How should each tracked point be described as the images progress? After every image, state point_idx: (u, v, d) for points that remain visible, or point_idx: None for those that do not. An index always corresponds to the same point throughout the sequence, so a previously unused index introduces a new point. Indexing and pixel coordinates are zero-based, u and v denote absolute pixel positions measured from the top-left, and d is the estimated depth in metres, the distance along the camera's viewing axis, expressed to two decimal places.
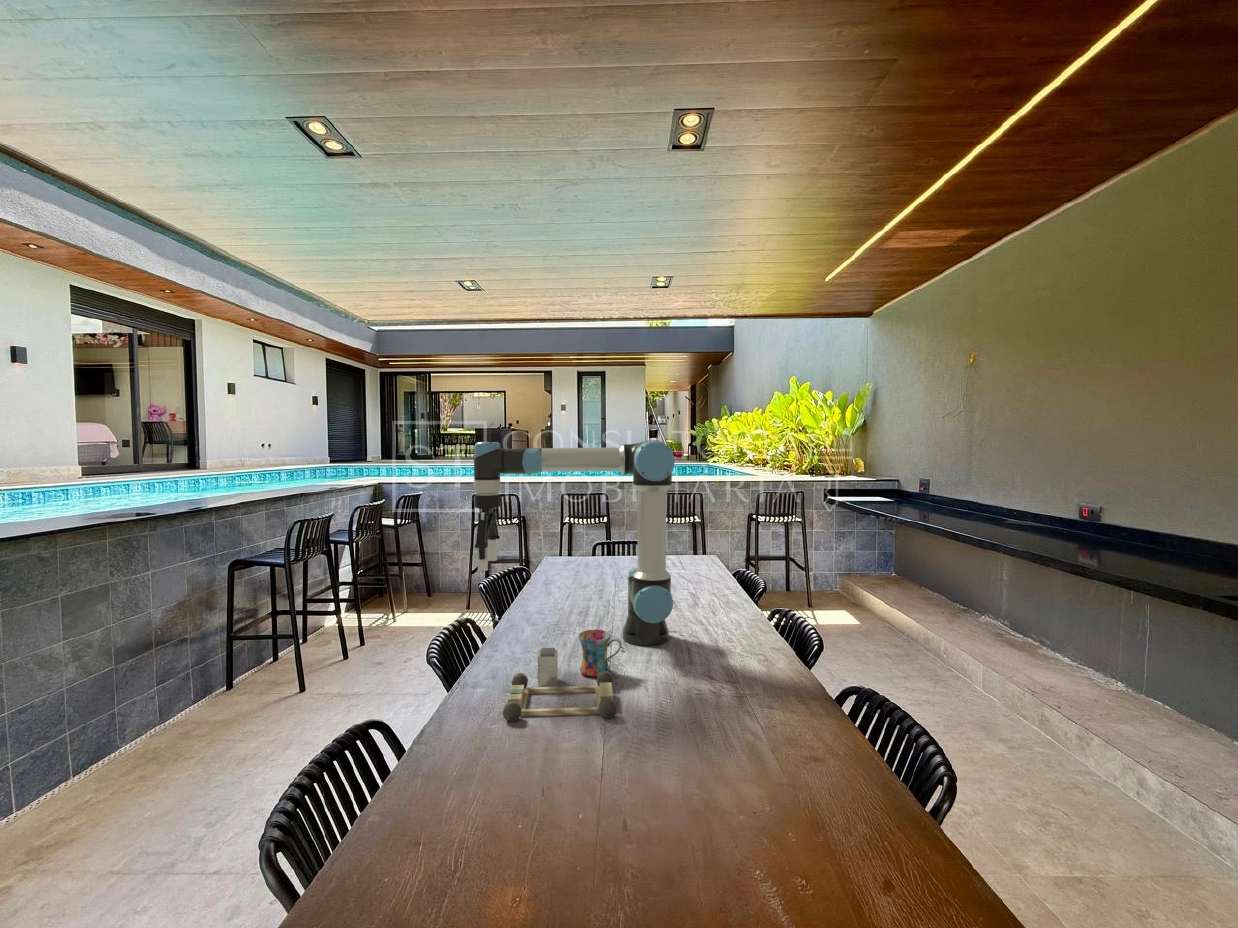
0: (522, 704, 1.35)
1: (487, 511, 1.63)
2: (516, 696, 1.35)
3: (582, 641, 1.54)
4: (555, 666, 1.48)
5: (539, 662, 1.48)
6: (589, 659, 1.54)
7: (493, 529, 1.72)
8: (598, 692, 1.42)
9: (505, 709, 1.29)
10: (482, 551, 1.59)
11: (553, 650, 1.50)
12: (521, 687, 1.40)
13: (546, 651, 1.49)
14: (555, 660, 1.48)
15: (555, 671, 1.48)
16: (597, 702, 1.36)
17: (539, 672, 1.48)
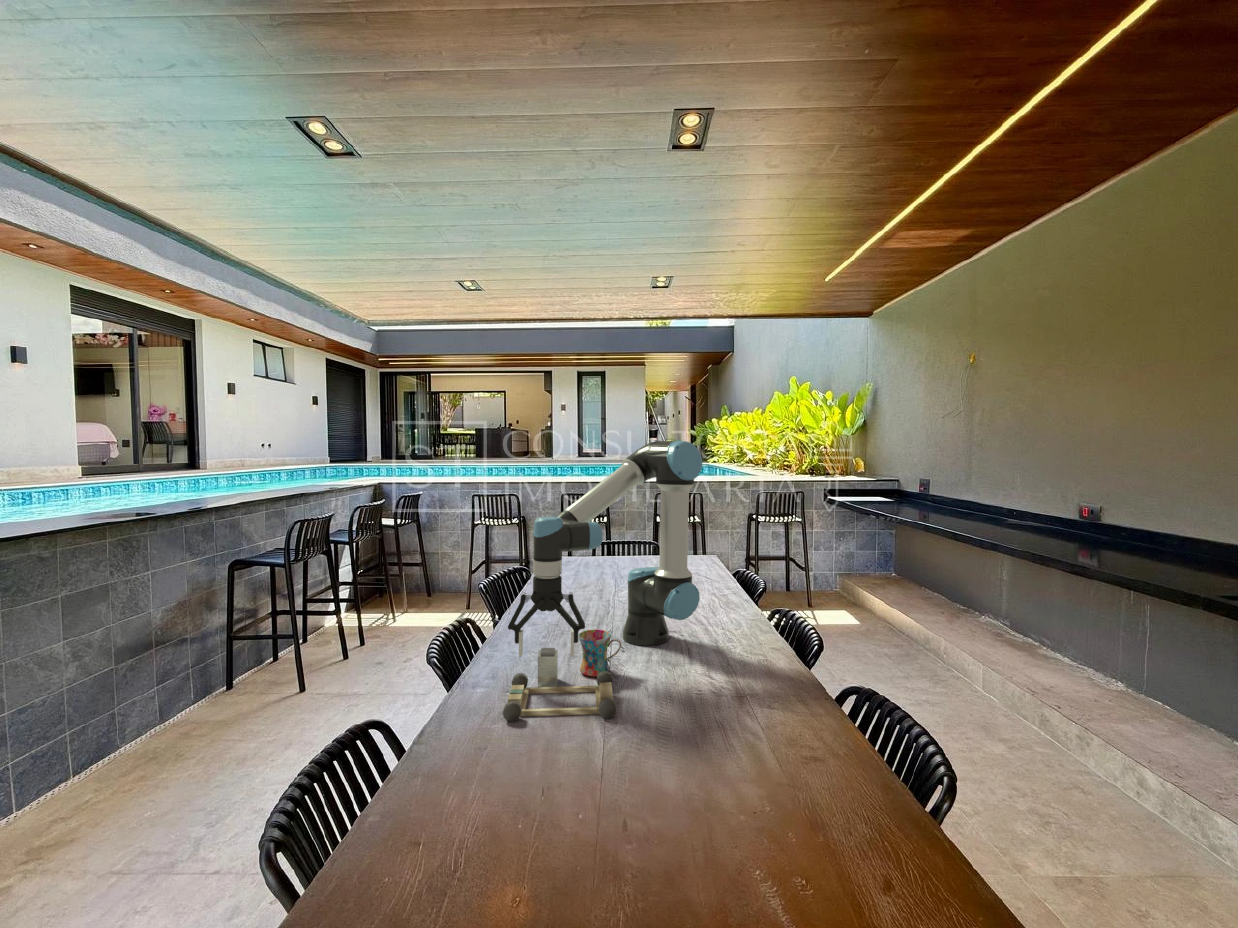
0: (522, 704, 1.35)
1: (532, 594, 1.49)
2: (516, 696, 1.35)
3: (582, 641, 1.54)
4: (555, 666, 1.48)
5: (539, 662, 1.48)
6: (589, 659, 1.54)
7: None
8: (598, 692, 1.42)
9: (505, 709, 1.29)
10: None
11: (553, 650, 1.50)
12: (521, 687, 1.40)
13: (546, 651, 1.49)
14: (555, 660, 1.48)
15: (555, 671, 1.48)
16: (597, 702, 1.36)
17: (539, 672, 1.48)
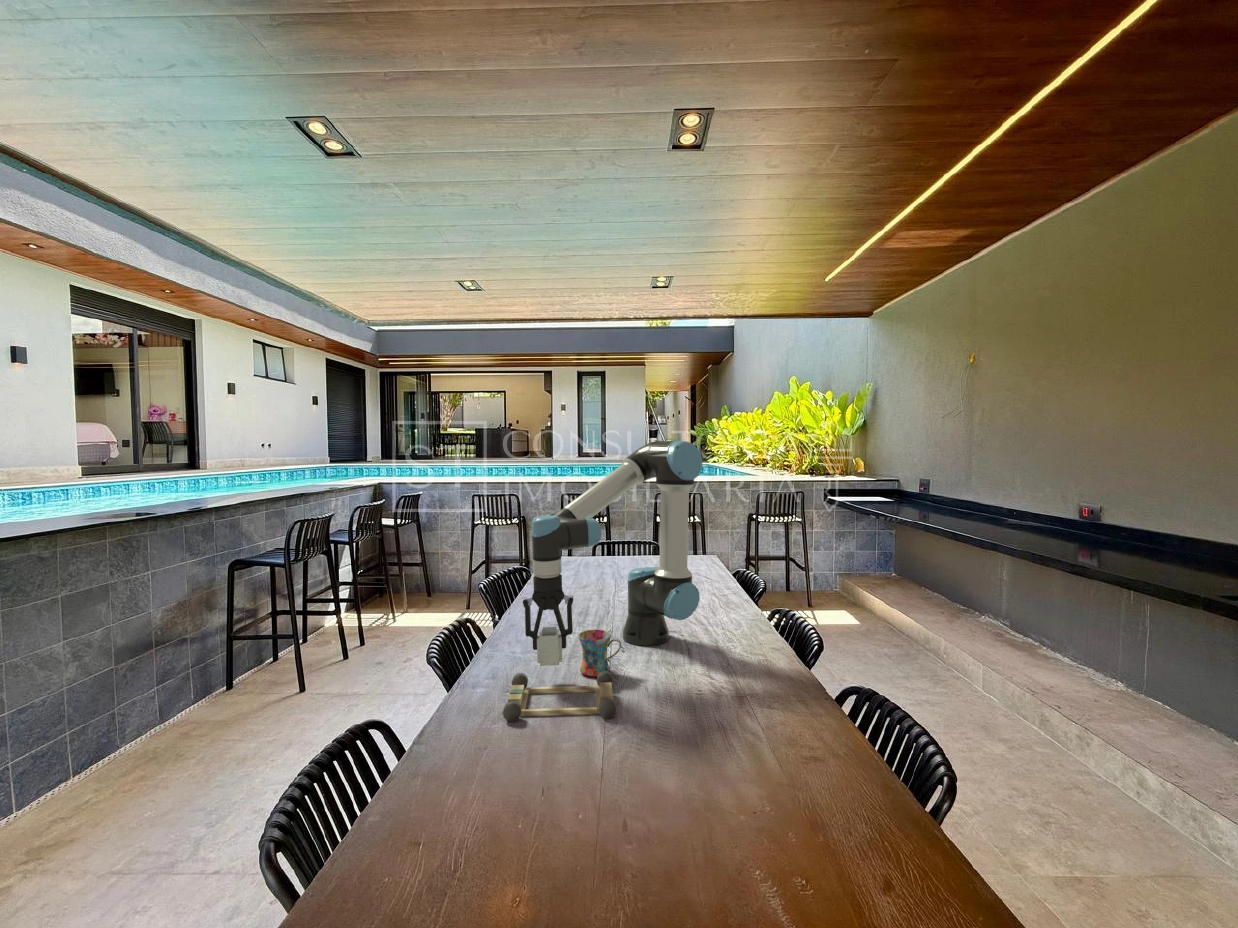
0: (522, 704, 1.35)
1: (532, 595, 1.49)
2: (516, 696, 1.35)
3: (582, 641, 1.54)
4: (557, 645, 1.48)
5: (541, 641, 1.48)
6: (589, 659, 1.54)
7: None
8: (598, 692, 1.42)
9: (505, 709, 1.29)
10: None
11: (554, 629, 1.50)
12: (521, 687, 1.40)
13: (547, 630, 1.49)
14: (557, 639, 1.48)
15: (557, 650, 1.48)
16: (597, 702, 1.36)
17: (541, 651, 1.48)
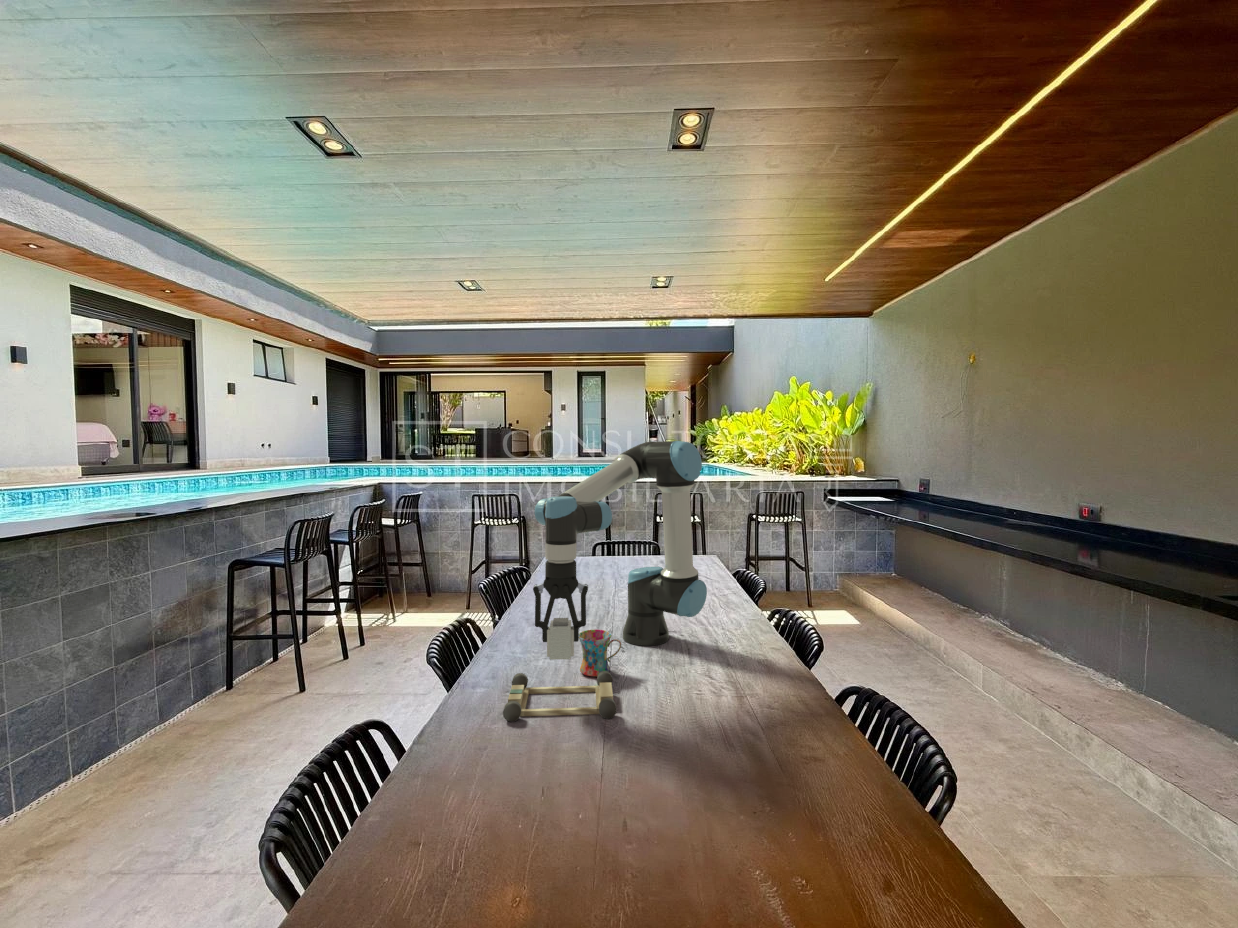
0: (522, 704, 1.35)
1: None
2: (516, 696, 1.35)
3: (582, 641, 1.54)
4: (569, 637, 1.36)
5: (551, 632, 1.36)
6: (589, 659, 1.54)
7: None
8: (598, 692, 1.42)
9: (505, 709, 1.29)
10: None
11: (566, 620, 1.38)
12: (521, 687, 1.40)
13: (558, 621, 1.37)
14: (569, 630, 1.36)
15: (569, 642, 1.36)
16: (597, 702, 1.36)
17: (551, 643, 1.36)
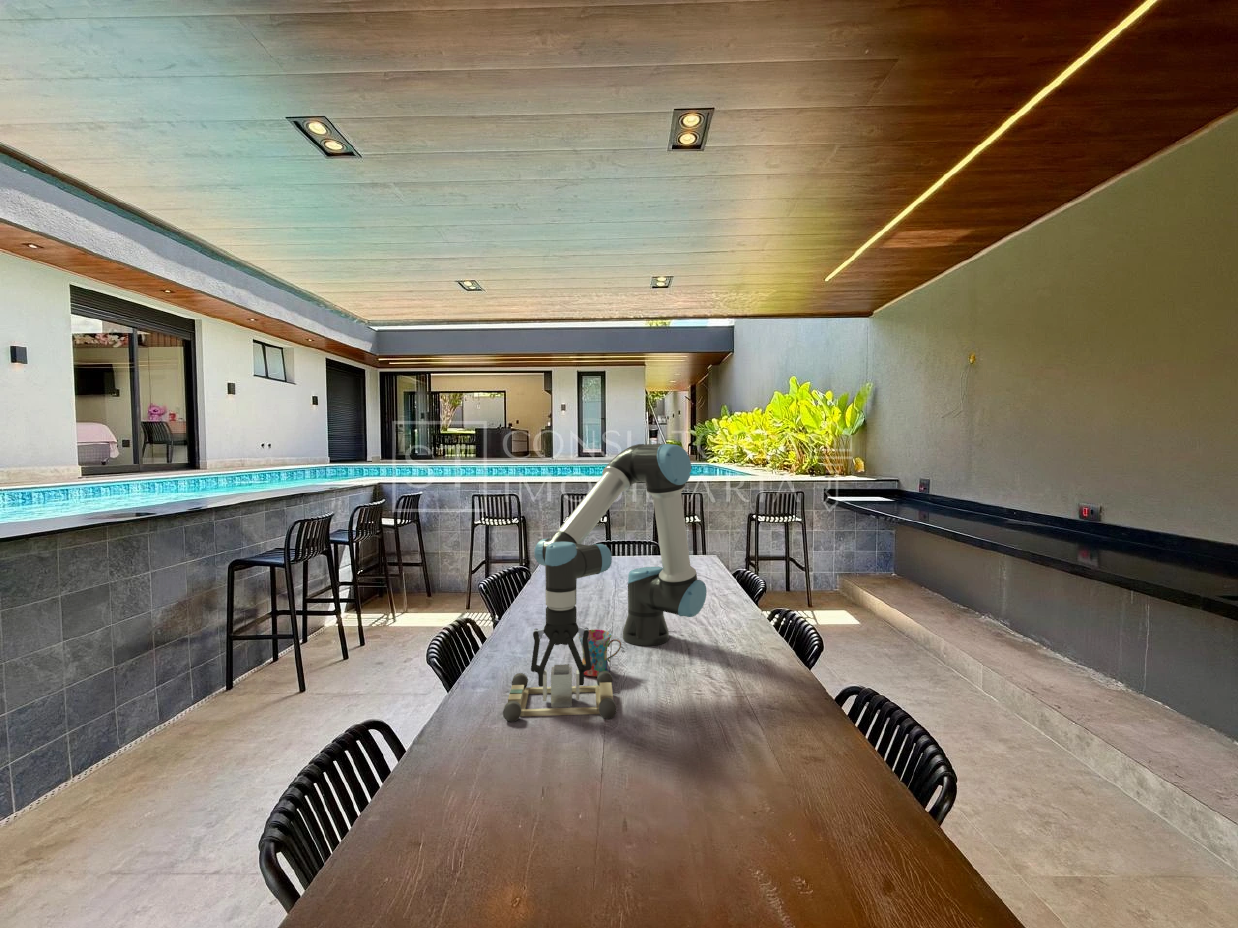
0: (522, 704, 1.35)
1: (544, 627, 1.37)
2: (516, 696, 1.35)
3: (582, 641, 1.54)
4: (570, 685, 1.36)
5: (552, 681, 1.36)
6: None
7: None
8: (598, 692, 1.42)
9: (505, 709, 1.29)
10: None
11: (567, 667, 1.38)
12: (521, 687, 1.40)
13: (559, 668, 1.38)
14: (570, 678, 1.36)
15: (570, 690, 1.36)
16: (597, 702, 1.36)
17: (552, 691, 1.36)
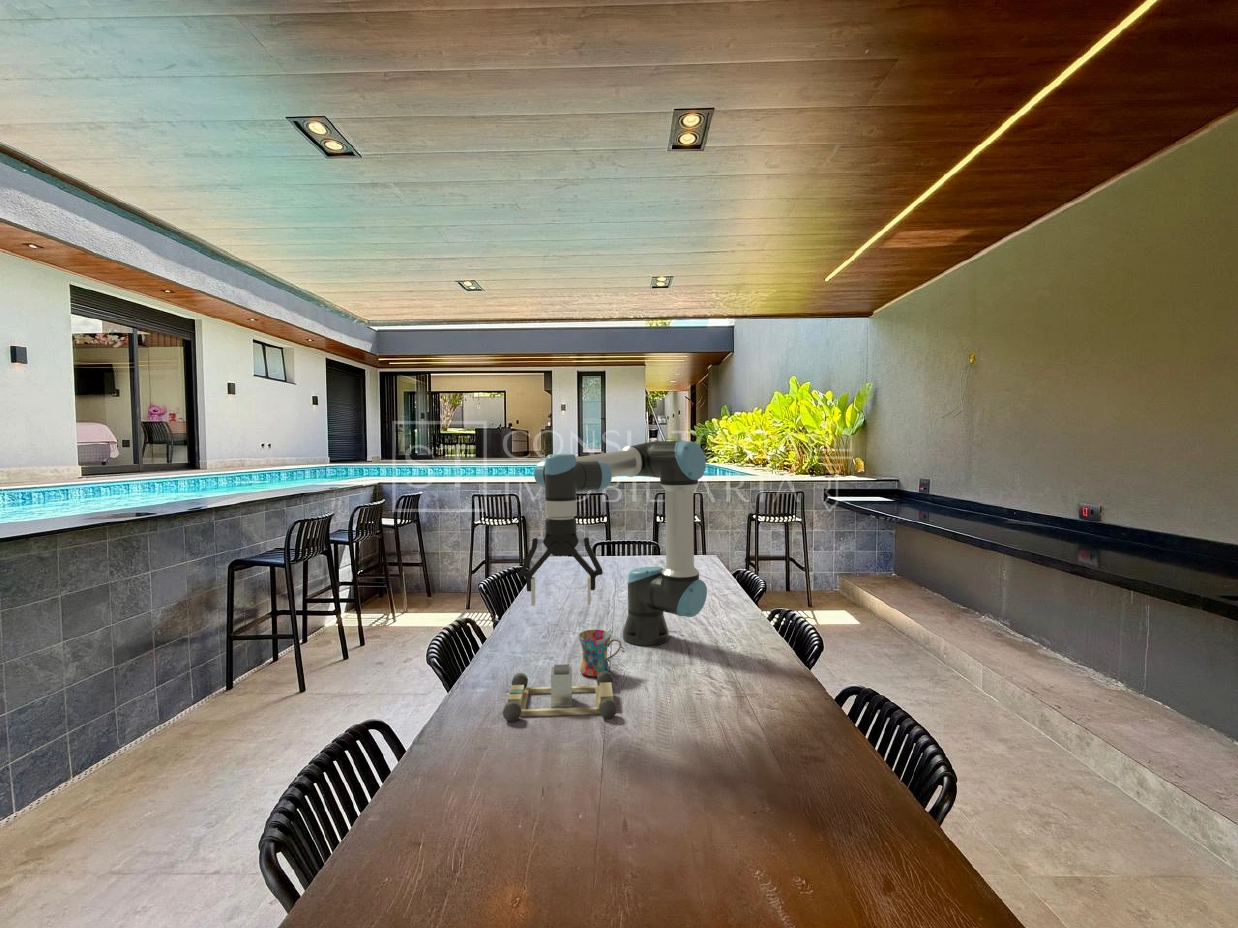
0: (522, 704, 1.35)
1: (545, 537, 1.37)
2: (516, 696, 1.35)
3: (582, 641, 1.54)
4: (570, 685, 1.36)
5: (552, 681, 1.36)
6: (589, 659, 1.54)
7: (579, 563, 1.37)
8: (598, 692, 1.42)
9: (505, 709, 1.29)
10: None
11: (567, 667, 1.38)
12: (521, 687, 1.40)
13: (559, 668, 1.38)
14: (570, 678, 1.36)
15: (570, 690, 1.36)
16: (597, 702, 1.36)
17: (552, 691, 1.36)
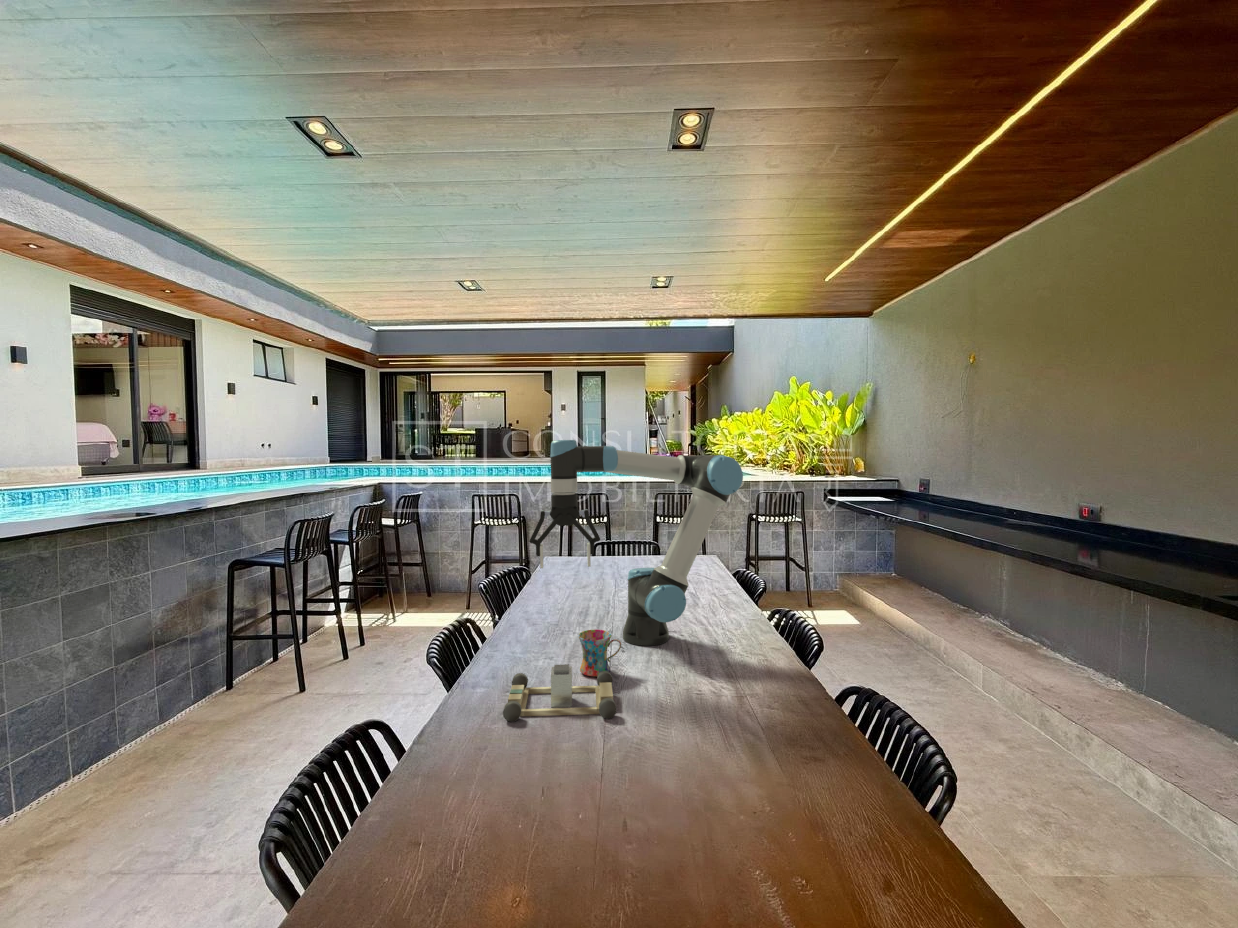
0: (522, 704, 1.35)
1: (551, 510, 1.62)
2: (516, 696, 1.35)
3: (582, 641, 1.54)
4: (570, 685, 1.36)
5: (552, 681, 1.36)
6: (589, 659, 1.54)
7: None
8: (598, 692, 1.42)
9: (505, 709, 1.29)
10: None
11: (567, 667, 1.38)
12: (521, 687, 1.40)
13: (559, 669, 1.38)
14: (570, 678, 1.36)
15: (570, 690, 1.36)
16: (597, 702, 1.36)
17: (552, 691, 1.36)
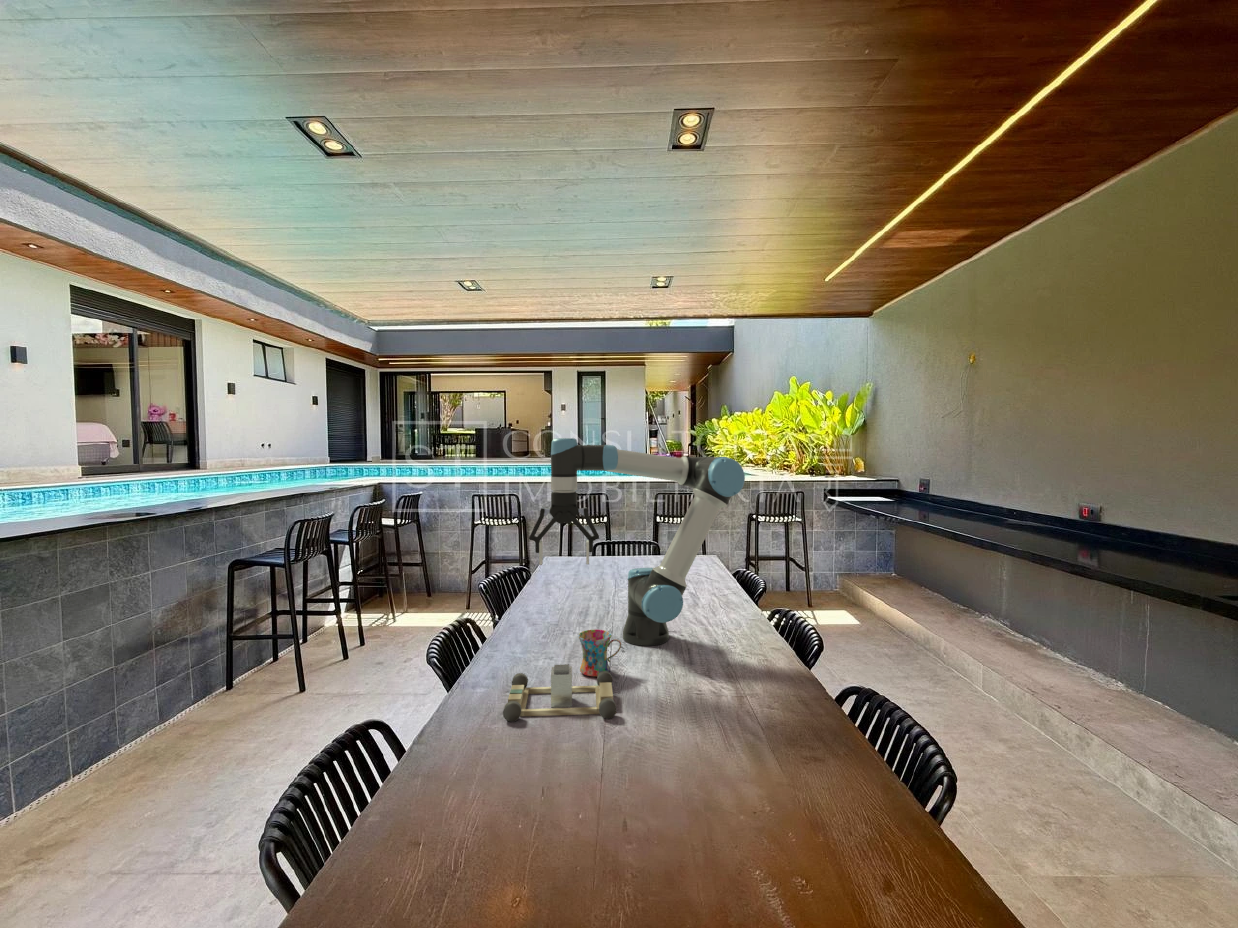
0: (522, 704, 1.35)
1: (551, 507, 1.63)
2: (516, 696, 1.35)
3: (582, 641, 1.54)
4: (570, 685, 1.36)
5: (552, 681, 1.36)
6: (589, 659, 1.54)
7: (580, 529, 1.64)
8: (598, 692, 1.42)
9: (505, 709, 1.29)
10: None
11: (567, 667, 1.38)
12: (521, 687, 1.40)
13: (559, 668, 1.38)
14: (570, 678, 1.36)
15: (570, 690, 1.36)
16: (597, 702, 1.36)
17: (552, 691, 1.36)
